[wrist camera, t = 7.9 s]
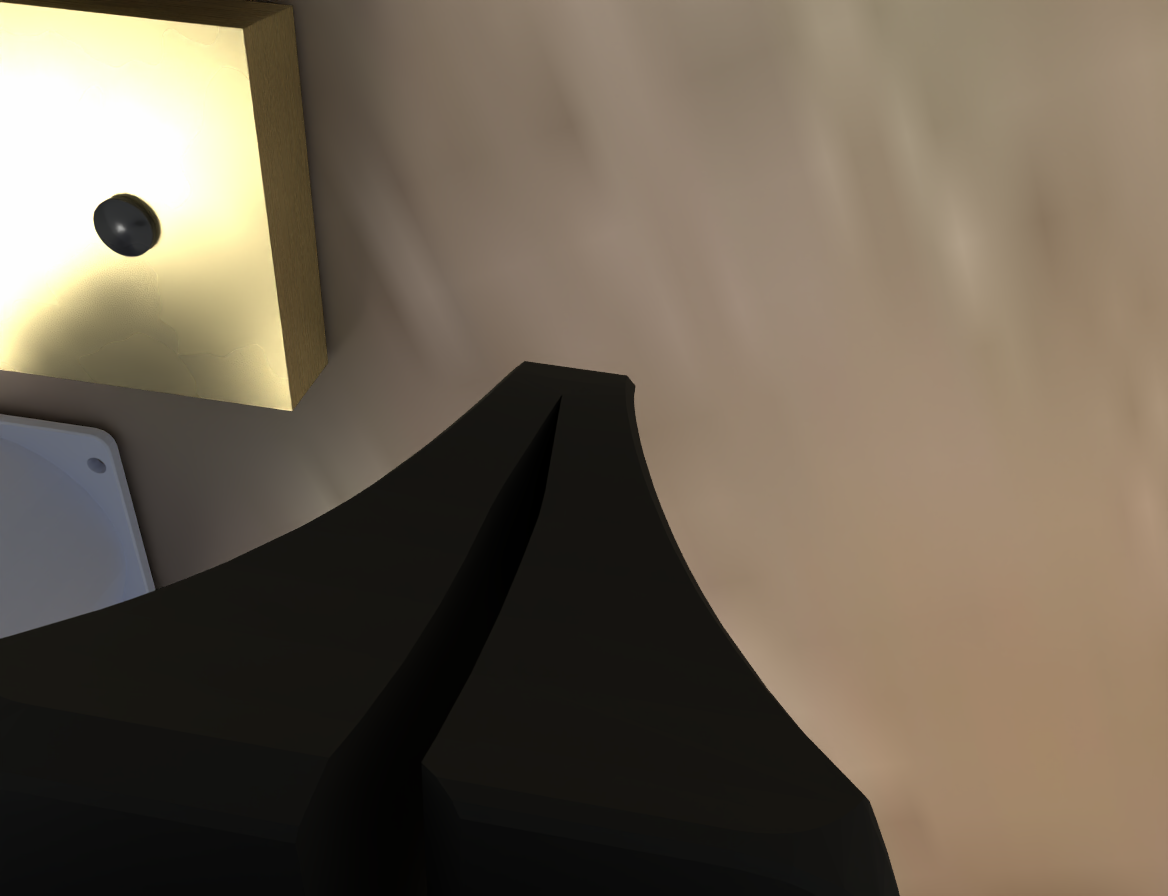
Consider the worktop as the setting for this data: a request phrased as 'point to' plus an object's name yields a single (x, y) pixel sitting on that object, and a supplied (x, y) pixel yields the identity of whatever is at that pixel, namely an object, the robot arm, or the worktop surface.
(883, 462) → the worktop surface
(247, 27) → the brass plate
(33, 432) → the robot arm
